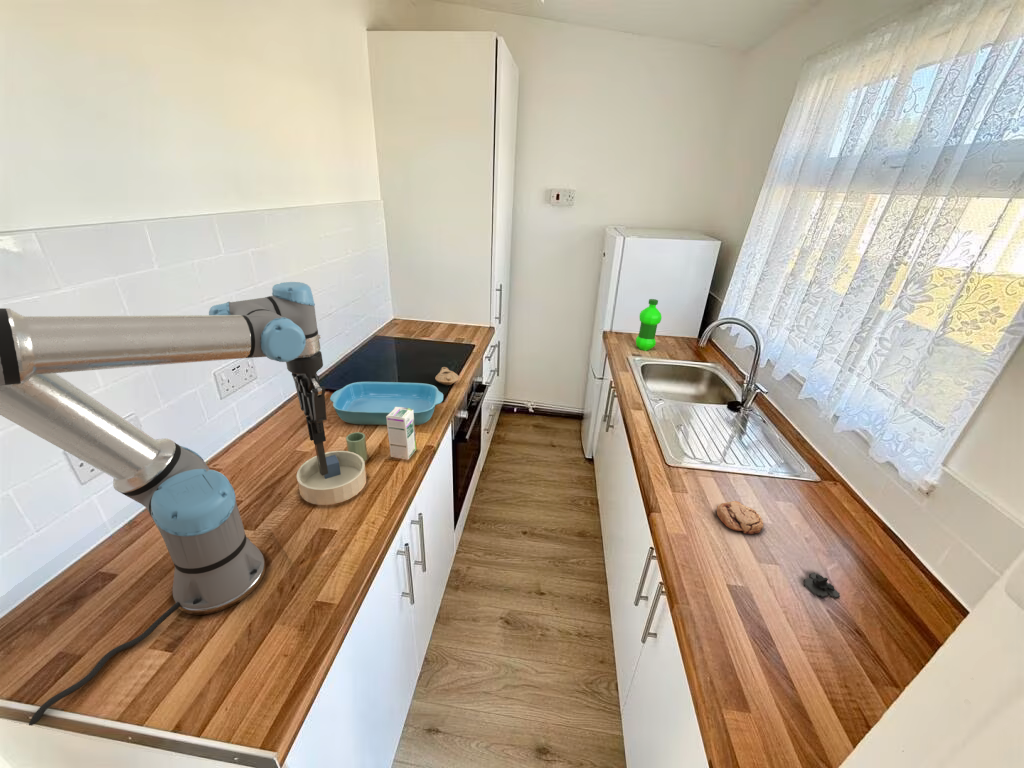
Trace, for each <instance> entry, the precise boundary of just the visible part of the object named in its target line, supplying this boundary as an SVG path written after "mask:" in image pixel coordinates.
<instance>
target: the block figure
mask: <svg viewBox="0 0 1024 768" xmlns="http://www.w3.org/2000/svg"><path fill="white" fill-rule="evenodd" d="M828 580H829V578H828V577H824V576H822V575H820V574H819V573H816V572H811V573H809V577H808V578H805V579H803V585H804V587H805V588H806V589H807V590H809V591H810V593H811V594H813V595H814V596H817V597H820V598H821V599H822V598H826V597H828V596H829V597H830V598H833V599H838V598H840V597H841V595H840V594H841V593H840V592H839V591H837V589H835V586H834V585H832V583H831V582H828Z"/></svg>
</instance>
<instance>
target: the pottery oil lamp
mask: <svg viewBox="0 0 1024 768" xmlns="http://www.w3.org/2000/svg"><path fill="white" fill-rule="evenodd" d="M434 378H435V381H436V382H437V383H439V384H441V385H445V386H451V385H452V384H454V383H456V382H458V381H459V379H460V376H459V375H458V373H456V372H454V371H453V370H450V369H449V368H448V367H447V366H443V367H441V368H440V370H439V372H438V373H437V375H436V376H435V377H434Z"/></svg>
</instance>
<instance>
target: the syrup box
mask: <svg viewBox="0 0 1024 768" xmlns="http://www.w3.org/2000/svg"><path fill="white" fill-rule="evenodd" d="M386 419H387V425H386V428H387V436H388V445H389V455H390V458H396V459H400V460H401V459H403V460H407V461H408V460H410V459H411V458H412V456H413V455H414V454H415V452H416V450H417V437H416V425H414V412H413V409H410V408H404V407H395V408H394V409H393V410H392V411H391V412H390V413H389V414H388V415H387V416H386Z"/></svg>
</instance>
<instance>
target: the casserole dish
mask: <svg viewBox="0 0 1024 768" xmlns="http://www.w3.org/2000/svg"><path fill="white" fill-rule="evenodd" d="M329 400H330V402H331V403H332V406H333V409H334V411H335V412H336V414H337V416H338V417H339V418H340V420H341V421H343V422H345V423H347V424H351V425H366V426H367V425H371V426H387V419H386V416H387V415H388V414H389V413H390V412H391V411H392V410H393V409H394V408H395V407H404V408H410V409H413V412H414V425H415V426H421V425H424V424H426V423H428V422H429V421H430V420H431V418H432V417H433V415H434V412H435V408H436V406H437V405H441V403H443V401H444V394H443V392H441V391H440V390H439V388H438V387H437V386H435V385H433V384H429V383H422V382H397V381H396V382H395V381H357V382H356V381H355V382H352V383H348V384H346V385H345V386H343V387H342V388H340V389H337V390H336V391H334V392H332V394H331V395H330V398H329Z"/></svg>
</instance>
